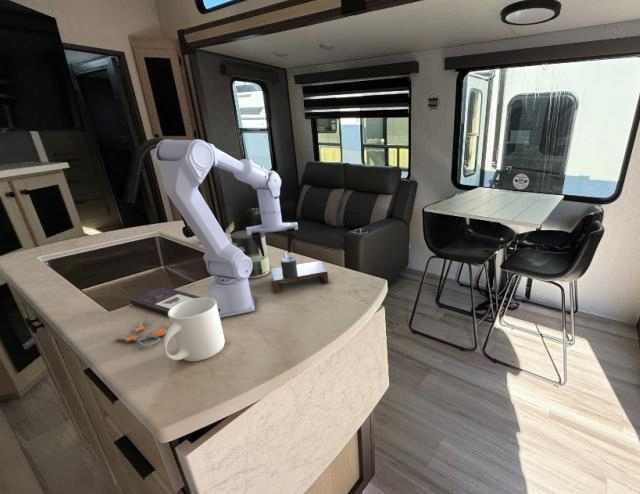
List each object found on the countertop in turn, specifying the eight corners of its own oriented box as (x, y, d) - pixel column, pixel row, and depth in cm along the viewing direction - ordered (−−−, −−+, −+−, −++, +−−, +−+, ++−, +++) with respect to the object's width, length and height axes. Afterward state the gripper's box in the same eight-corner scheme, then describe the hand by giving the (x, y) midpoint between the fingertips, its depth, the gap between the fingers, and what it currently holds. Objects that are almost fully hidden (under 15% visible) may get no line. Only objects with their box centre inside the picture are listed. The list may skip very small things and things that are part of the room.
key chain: (176, 333, 75) (175, 330, 75) (141, 351, 69) (140, 348, 69) (144, 321, 80) (143, 318, 80) (109, 336, 74) (108, 333, 74)
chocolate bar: (163, 286, 96) (203, 297, 90) (163, 289, 97) (204, 300, 90) (129, 299, 89) (171, 313, 82) (130, 302, 89) (172, 316, 82)
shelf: (275, 292, 95) (273, 280, 94) (272, 280, 104) (270, 268, 102) (328, 282, 102) (327, 271, 100) (321, 271, 110) (320, 260, 109)
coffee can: (249, 281, 102) (241, 240, 98) (231, 274, 108) (223, 234, 103) (276, 271, 110) (271, 232, 105) (259, 264, 116) (253, 227, 111)
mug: (154, 369, 64) (139, 323, 60) (204, 335, 75) (194, 295, 71) (188, 377, 62) (174, 331, 58) (234, 341, 73) (225, 300, 69)
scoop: (298, 276, 97) (296, 260, 95) (283, 278, 95) (281, 263, 93) (294, 265, 105) (292, 251, 103) (280, 267, 103) (278, 253, 101)
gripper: (293, 206, 101) (298, 246, 106) (243, 210, 96) (251, 252, 100) (296, 211, 95) (301, 253, 100) (243, 215, 90) (251, 260, 94)
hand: (276, 253), depth 100 cm, fingers open, 7 cm apart
